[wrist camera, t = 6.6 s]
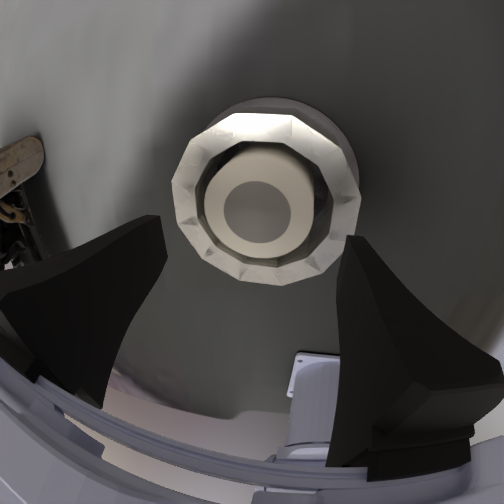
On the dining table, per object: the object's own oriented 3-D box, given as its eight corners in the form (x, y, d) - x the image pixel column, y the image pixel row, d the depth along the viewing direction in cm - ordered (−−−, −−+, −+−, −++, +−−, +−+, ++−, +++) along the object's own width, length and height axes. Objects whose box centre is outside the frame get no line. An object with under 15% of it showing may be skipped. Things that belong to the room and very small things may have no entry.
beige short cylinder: (309, 224, 17) (307, 266, 13) (229, 216, 17) (207, 254, 14) (317, 143, 14) (319, 165, 10) (226, 138, 15) (198, 157, 11)
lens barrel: (343, 258, 18) (347, 300, 15) (201, 241, 20) (178, 278, 16) (367, 107, 12) (385, 115, 9) (189, 98, 14) (153, 106, 11)
